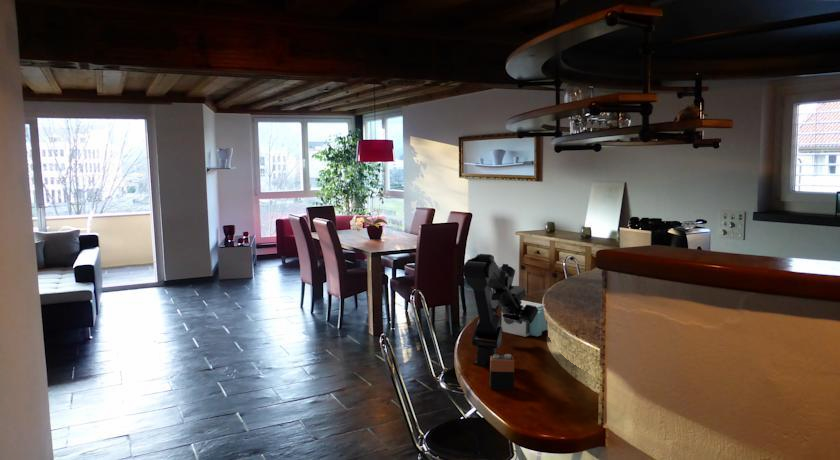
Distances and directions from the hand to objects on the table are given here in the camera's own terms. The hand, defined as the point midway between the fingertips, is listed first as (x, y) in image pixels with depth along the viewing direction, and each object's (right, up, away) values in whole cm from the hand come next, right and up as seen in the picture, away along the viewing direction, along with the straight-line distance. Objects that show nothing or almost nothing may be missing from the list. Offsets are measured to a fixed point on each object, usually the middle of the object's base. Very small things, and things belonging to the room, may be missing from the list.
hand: (521, 322), depth 225 cm
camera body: (+3, -5, +16) cm, 17 cm away
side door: (+10, -5, +11) cm, 16 cm away
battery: (-13, -13, -45) cm, 48 cm away
